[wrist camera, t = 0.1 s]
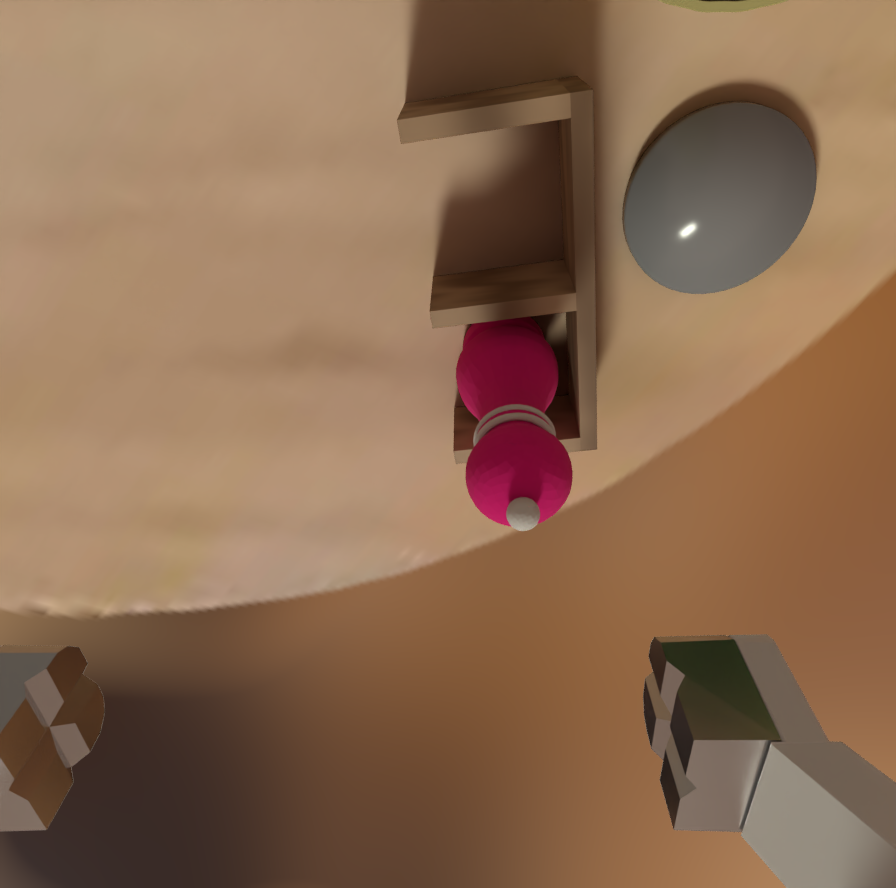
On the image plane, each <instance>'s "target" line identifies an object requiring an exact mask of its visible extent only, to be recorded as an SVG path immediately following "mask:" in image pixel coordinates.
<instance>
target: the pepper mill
mask: <svg viewBox="0 0 896 888" xmlns="http://www.w3.org/2000/svg"><path fill="white" fill-rule="evenodd" d="M456 379H457V385H458V391H459V393H460V396H461V398H462V400H463V402H464V404H465V406H466V407H467V408H468V410H469V411H470V412H471V413H472V414H473V415H474V416H475V417H476V418H477V419H478V420H479V423H478V425H477V427H476V429H475V432H474V437H473V443H474V448H473V449H472V451H471V453H470V455H469V457H468V460H467V465H466V484H467V488H468V492H469V495H470V497H471V499H472V500H473V502H474V504H475V505H476V507H477V508H478V509H479V510H480V512H482V513H483V514H484V515H485V516H487V517H488V518H489V519H491V520H493V521H495V522H497V523H500V524H503V525H507V526H512V527H513V528H514V529H517V530H520V531H526V530H530V529H532V528H534V527H535V526H536V525H537V524H538V523H541V522H543V521H545V520H546V519H548V518H550V517H551V516H553V515H554V514H555V513H556V512H557V511H558V510H559V509H560V508H561V506H562V505H563V504H564V503H565V501H566V499H567V497H568V495H569V493H570V490H571V485H572V466H571V461H570V458H569V455H568V453H567V450H566V449H565V447H564V445H563V444H562V443H561V442H560V441H559V440H558V439H557V438H556V432H555V428H554V426H553V423H552V422H551V420H550V419H549V418H548V417H547V416H546V415H545V411H546V409H547V408H548V406H549V405H550V404H551V402H552V400H553V398H554V395H555V392H556V389H557V386H558V364H557V360H556V356H555V354H554V352H553V350H552V348H551V346H550V345H549V344H548V342H547V341H546V340H545V338H544V335H543V332H542V330H541V328H540V327H539V325H538V324H537V323H536V322H535V321H534V320H533V319H532V318H531V317H522V318H514V319H506V320H498V321H489V322H481V323H473V324H472V325H471V326H470V328H469V329H468V331H467V333H466V335H465V338H464V342H463V351H462V353H461V354H460V357H459V360H458V363H457V368H456Z"/></svg>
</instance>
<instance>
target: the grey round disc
mask: <svg viewBox="0 0 896 888" xmlns="http://www.w3.org/2000/svg"><path fill="white" fill-rule="evenodd" d="M815 190H816V164H815V159H814V155H813V151H812V149H811V146H810V144H809V141H808V140H807V138H806V137H805V135H804V133H803V132H802V131H801V129H800V128H799V127H798V126H797V125H796V124H795V123H794V122H793V121H792V120H790V119H789V118H788V117H787V116H785V115H783V114H782V113H780V112H778V111H776V110H774V109H771V108H769V107H766V106H763V105H760V104H757V103H751V102H745V101H731V102H723V103H717V104H713V105H710V106H706V107H703V108H701V109H698V110H696V111H694V112H692V113H690V114H688V115H686V116H684V117H682V118H681V119H679V120H678V121H676V122H675V123H674V124H672V125H671V126H669V127H668V128H667V129H666V130H665V131H664V132H662V133H661V134H660V135H659V136H658V137H657V138H656V139H655V140H654V142H653V143H652V144H651V145H650V146H649V147H648V148H647V150H646V151H645V153H644V154H643V155H642V157H641V158H640V160H639V162H638V163H637V165H636V167H635V169H634V171H633V173H632V175H631V178H630V180H629V182H628V186H627V189H626V193H625V197H624V203H623V216H622V220H623V230H624V234H625V239H626V242H627V244H628V247H629V249H630V252H631V253H632V255H633V257H634V258H635V260H636V262H637V263H638V265H639V266H640V267H641V268H642V270H643V271H644V272H645V273H646V274H647V275H648V276H649V277H651V278H652V279H653V280H654V281H656V282H658V283H659V284H661V285H663V286H665V287H667V288H669V289H672V290H675V291H679V292H684V293H691V294H706V293H715V292H719V291H724V290H727V289H730V288H733V287H736V286H739V285H741V284H743V283H745V282H747V281H749V280H751V279H753V278H754V277H756V276H758V275H759V274H761V273H762V272H764V271H765V270H766V269H768V268H769V267H770V266H771V265H773V264H774V263H775V262H776V261H777V260H778V259H779V258H780V257H781V256H782V255H783V254H784V253H785V252H786V251H787V250H788V249H789V247H790V246H791V245H792V243H793V242H794V241H795V239H796V238H797V236H798V235H799V233H800V231H801V230H802V228H803V226H804V224H805V222H806V220H807V218H808V215H809V213H810V210H811V207H812V204H813V200H814V195H815Z"/></svg>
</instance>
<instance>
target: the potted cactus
mask: <svg viewBox="0 0 896 888" xmlns="http://www.w3.org/2000/svg"><path fill="white" fill-rule="evenodd" d="M659 1H661V2H663V3H666V4H669V5H674V6H678V7H683V8H687V9H690V10H694V11H699V12H743V11H748V10H753V9H757V8H760V7H765V6H770V5H774V4H778V3H782V2H785V1H787V0H659Z"/></svg>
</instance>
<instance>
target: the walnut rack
mask: <svg viewBox="0 0 896 888" xmlns="http://www.w3.org/2000/svg"><path fill="white" fill-rule="evenodd" d="M555 120H558V127H559V152H560V177H561V203H562V228H563V253H564V260H556V261H549V262H541V263H534V264H526V265H519V266H511V267H503V268H496V269H488V270H481V271H473V272H465V273H458V274H450V275H443V276H435V277H433V283H432V293H431V303H430V316H431V322H432V328H441V327H449V326H457V325H465V324H473V323H481V322H489V321H498V320H506V319H514V318H522V317H530V316H538V315H546V314H554V313H562V312H566V330H567V355H568V380H569V395H564V396H555V397H554V398H553V400H552V402H551V404H550V405H549V406H548V408H547V409H546V411H545V415H546V416H547V417H548V418H549V419H550V420H551V422H552V423H553V426H554V428H555V432H556V438H557V439H558V440H559V441H560V442H561V443H562V444H563V445H564V447H565V449H566V450H567V452H577V451H586V450H596V449H597V394H596V299H595V204H594V109H593V89H592V88H591V87H590V86H588V85H587V84H586V83H585V82H583V81H582V80H581V79H580V78H579V77H577V76H574V77H567V78H561V79H555V80H548V81H542V82H536V83H530V84H523V85H517V86H511V87H504V88H498V89H492V90H485V91H479V92H473V93H467V94H460V95H454V96H448V97H441V98H435V99H429V100H423V101H416V102H410V103H405V104H404V106H403V108H402V111H401V113H400V115H399V117H398V119H397V123H398V129H399V135H400V141H401V144H404V143H411V142H418V141H424V140H431V139H437V138H444V137H450V136H457V135H463V134H470V133H476V132H483V131H490V130H496V129H503V128H509V127H516V126H522V125H529V124H535V123H542V122H548V121H555ZM478 423H479V420H478V419H477V418H476V417H475V416H474V415H473V414H472V413H471V412H470V411H469V410H468V408H467V407H466V406H465V407H456V408H454V457H455V462H456V464H460V463H467V460H468V457H469V455H470V453H471V451H472V449H473V448H474V443H473V437H474V432H475V429H476V427H477V425H478Z"/></svg>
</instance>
